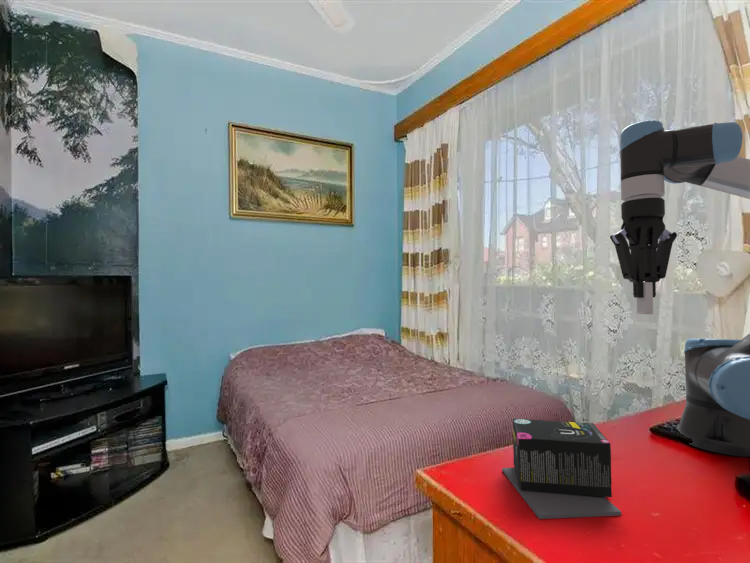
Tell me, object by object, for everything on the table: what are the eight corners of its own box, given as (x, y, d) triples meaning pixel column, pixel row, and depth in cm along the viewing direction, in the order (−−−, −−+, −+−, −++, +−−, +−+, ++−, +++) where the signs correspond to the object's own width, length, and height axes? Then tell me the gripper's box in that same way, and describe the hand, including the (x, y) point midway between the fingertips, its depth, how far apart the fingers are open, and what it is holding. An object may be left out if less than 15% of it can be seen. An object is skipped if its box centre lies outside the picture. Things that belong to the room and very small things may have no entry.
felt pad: (568, 468, 79) (568, 465, 79) (621, 515, 63) (621, 511, 63) (502, 470, 78) (502, 467, 78) (539, 519, 62) (538, 515, 62)
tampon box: (612, 442, 66) (517, 437, 70) (613, 499, 66) (519, 491, 70) (592, 421, 77) (511, 417, 80) (593, 470, 77) (512, 463, 80)
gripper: (659, 203, 88) (661, 311, 88) (600, 203, 87) (603, 313, 87) (687, 195, 80) (690, 314, 80) (623, 196, 80) (626, 316, 80)
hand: (644, 313), depth 84 cm, fingers closed
